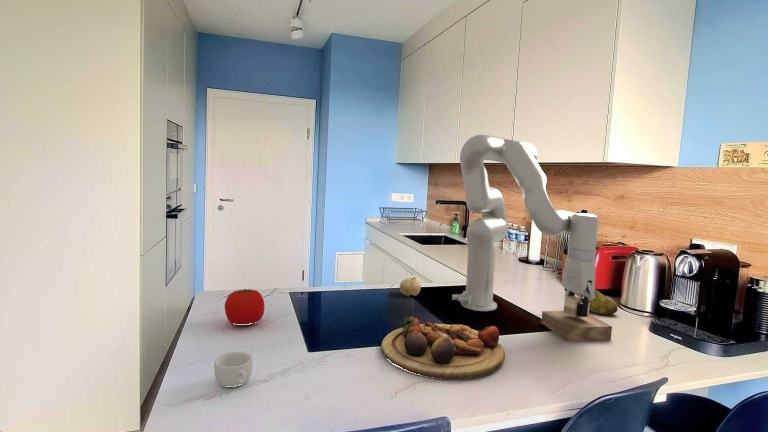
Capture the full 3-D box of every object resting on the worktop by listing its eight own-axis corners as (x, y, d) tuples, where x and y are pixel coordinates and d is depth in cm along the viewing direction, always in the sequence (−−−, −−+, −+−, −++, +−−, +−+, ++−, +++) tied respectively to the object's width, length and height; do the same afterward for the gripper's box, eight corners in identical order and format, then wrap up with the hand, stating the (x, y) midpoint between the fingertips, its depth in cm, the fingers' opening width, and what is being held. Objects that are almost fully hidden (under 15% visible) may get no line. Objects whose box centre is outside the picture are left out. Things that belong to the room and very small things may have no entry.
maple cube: (573, 317, 125) (574, 300, 125) (563, 311, 130) (565, 295, 129) (588, 316, 126) (590, 300, 125) (578, 311, 131) (579, 295, 130)
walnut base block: (566, 341, 120) (567, 327, 120) (541, 323, 134) (542, 311, 134) (610, 339, 123) (612, 326, 122) (581, 322, 136) (582, 310, 136)
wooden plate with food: (501, 336, 123) (502, 309, 122) (509, 390, 92) (511, 353, 91) (393, 326, 130) (394, 300, 129) (367, 373, 99) (368, 339, 98)
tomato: (261, 315, 133) (261, 282, 131) (268, 328, 122) (268, 293, 120) (223, 319, 128) (222, 285, 127) (226, 334, 117) (226, 297, 116)
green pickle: (606, 319, 141) (608, 295, 140) (571, 307, 151) (573, 286, 150) (619, 315, 145) (622, 292, 144) (584, 304, 156) (586, 283, 155)
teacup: (209, 381, 91) (208, 357, 90) (243, 371, 96) (243, 348, 96) (227, 401, 84) (226, 375, 83) (263, 388, 89) (263, 364, 88)
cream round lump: (416, 299, 155) (417, 280, 154) (396, 296, 158) (397, 278, 157) (422, 293, 162) (423, 275, 162) (402, 291, 165) (403, 273, 164)
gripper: (553, 249, 134) (549, 304, 136) (587, 260, 117) (581, 323, 119) (575, 249, 135) (570, 304, 137) (611, 260, 118) (605, 323, 120)
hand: (575, 312), depth 128 cm, fingers closed on maple cube, 4 cm apart
